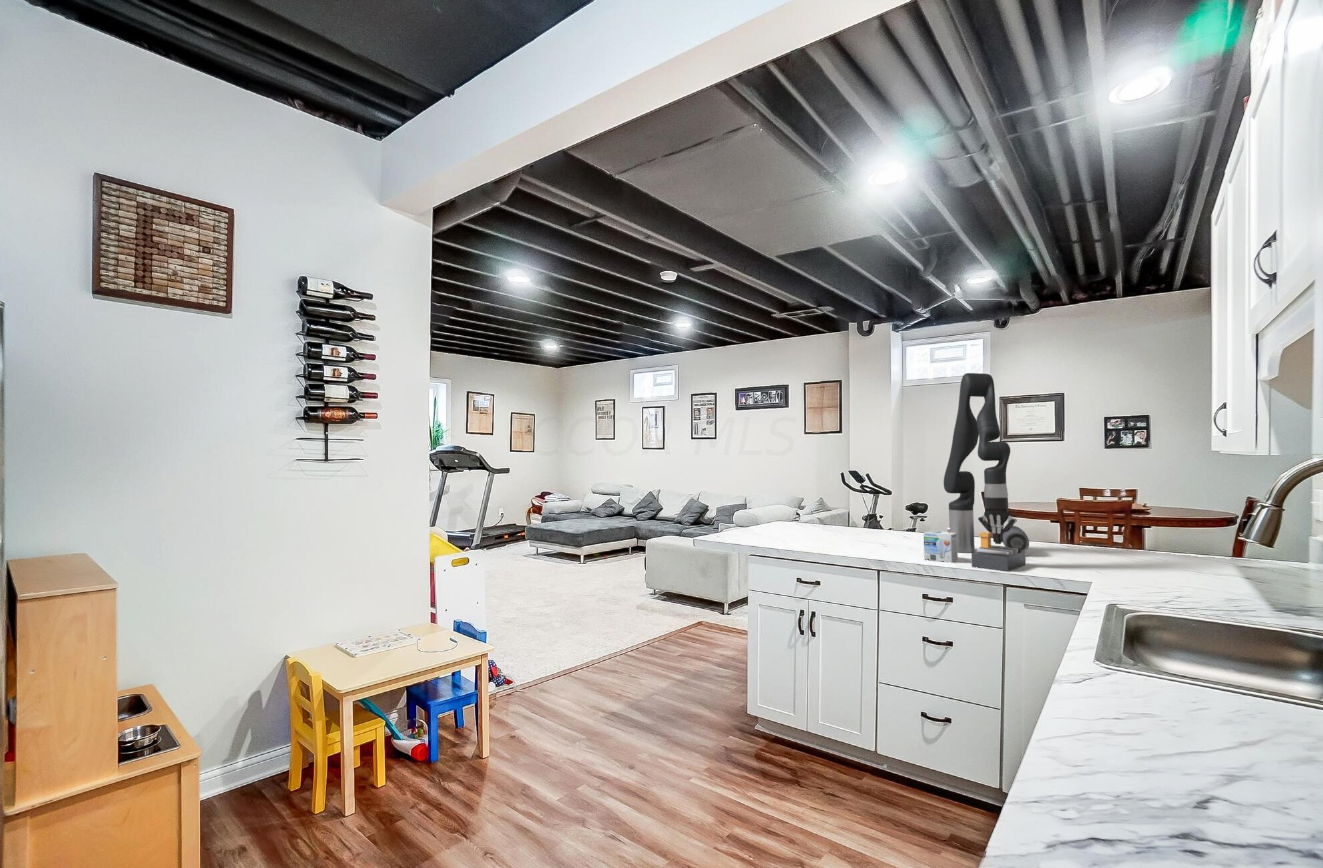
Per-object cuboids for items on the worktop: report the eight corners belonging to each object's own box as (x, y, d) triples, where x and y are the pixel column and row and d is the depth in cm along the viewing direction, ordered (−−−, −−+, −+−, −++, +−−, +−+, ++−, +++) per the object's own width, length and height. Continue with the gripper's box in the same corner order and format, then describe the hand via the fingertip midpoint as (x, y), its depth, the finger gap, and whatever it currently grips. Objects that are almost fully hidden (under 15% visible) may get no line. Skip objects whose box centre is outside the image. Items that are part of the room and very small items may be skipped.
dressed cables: (976, 552, 222) (976, 548, 222) (990, 548, 230) (990, 544, 230) (1008, 556, 214) (1008, 552, 214) (1022, 551, 222) (1021, 547, 222)
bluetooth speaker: (1000, 547, 262) (999, 524, 263) (1025, 548, 258) (1024, 524, 259) (1003, 555, 242) (1002, 530, 242) (1031, 557, 238) (1030, 531, 238)
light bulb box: (923, 559, 236) (922, 532, 237) (929, 557, 241) (928, 530, 242) (952, 562, 229) (951, 534, 229) (958, 560, 234) (957, 532, 234)
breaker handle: (979, 549, 225) (978, 533, 225) (983, 548, 228) (983, 531, 228) (988, 550, 223) (988, 533, 223) (992, 549, 225) (992, 532, 225)
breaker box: (971, 566, 221) (971, 548, 221) (990, 560, 232) (990, 543, 232) (1007, 571, 212) (1007, 552, 212) (1025, 564, 223) (1025, 547, 223)
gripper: (972, 496, 225) (975, 543, 225) (1011, 497, 215) (1014, 546, 215) (981, 495, 230) (983, 541, 229) (1019, 496, 220) (1022, 544, 219)
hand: (998, 543), depth 222 cm, fingers closed
